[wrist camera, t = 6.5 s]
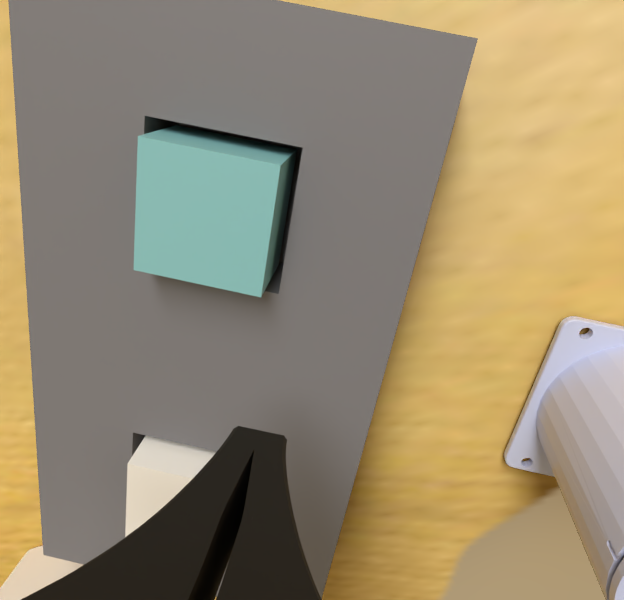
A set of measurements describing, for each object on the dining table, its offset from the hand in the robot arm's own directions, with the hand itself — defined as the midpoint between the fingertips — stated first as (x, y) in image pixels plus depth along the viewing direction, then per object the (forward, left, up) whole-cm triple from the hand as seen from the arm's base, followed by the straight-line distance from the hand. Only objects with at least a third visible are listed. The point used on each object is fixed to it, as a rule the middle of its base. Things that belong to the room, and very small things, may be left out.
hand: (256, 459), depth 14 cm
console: (+3, +2, -10) cm, 11 cm away
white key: (+3, +9, -8) cm, 12 cm away
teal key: (+3, -4, -8) cm, 10 cm away
